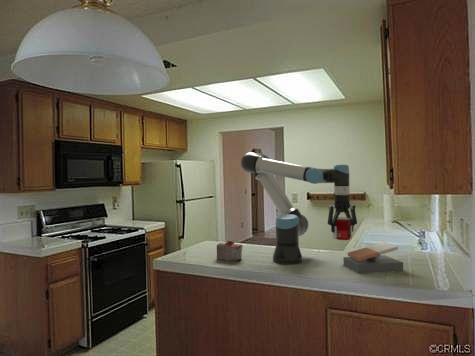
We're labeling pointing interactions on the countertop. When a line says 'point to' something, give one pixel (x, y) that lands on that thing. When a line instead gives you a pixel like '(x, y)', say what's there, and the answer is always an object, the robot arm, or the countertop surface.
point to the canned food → (343, 228)
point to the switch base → (373, 264)
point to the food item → (229, 251)
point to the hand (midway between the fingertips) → (342, 238)
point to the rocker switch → (372, 251)
